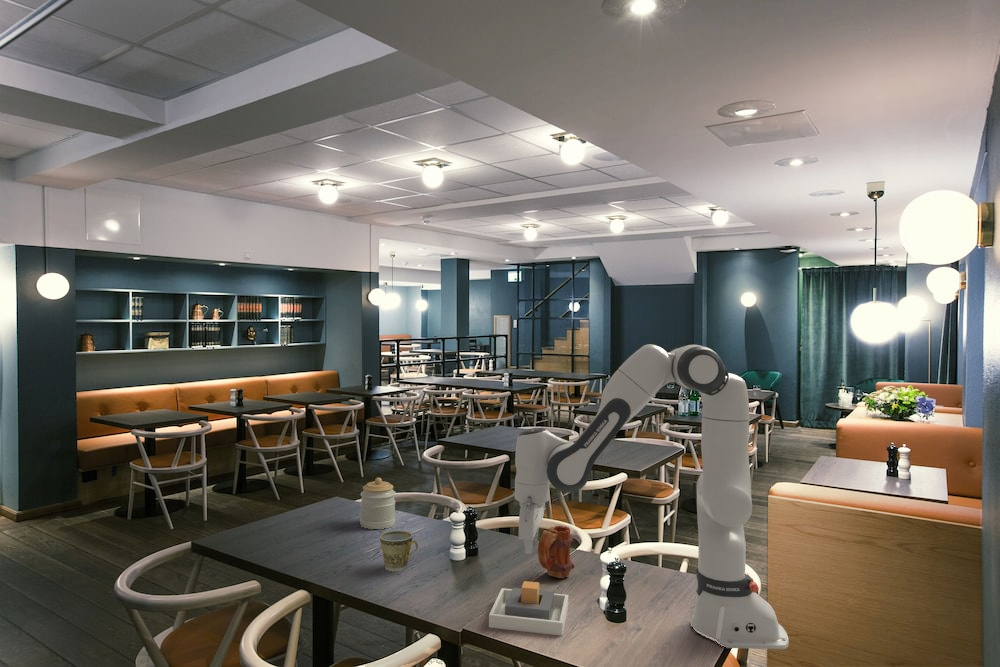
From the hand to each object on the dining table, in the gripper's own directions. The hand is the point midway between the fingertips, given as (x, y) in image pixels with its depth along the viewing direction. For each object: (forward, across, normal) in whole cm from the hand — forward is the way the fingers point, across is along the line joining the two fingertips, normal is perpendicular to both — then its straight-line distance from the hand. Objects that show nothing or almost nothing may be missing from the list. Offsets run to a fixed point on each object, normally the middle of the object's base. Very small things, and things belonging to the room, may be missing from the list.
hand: (531, 546), depth 157 cm
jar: (+19, +62, +67) cm, 93 cm away
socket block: (+18, 0, 0) cm, 18 cm away
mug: (+19, +28, -3) cm, 34 cm away
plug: (+18, 0, 0) cm, 18 cm away
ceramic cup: (+19, +24, +44) cm, 54 cm away
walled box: (+19, 0, 0) cm, 19 cm away
